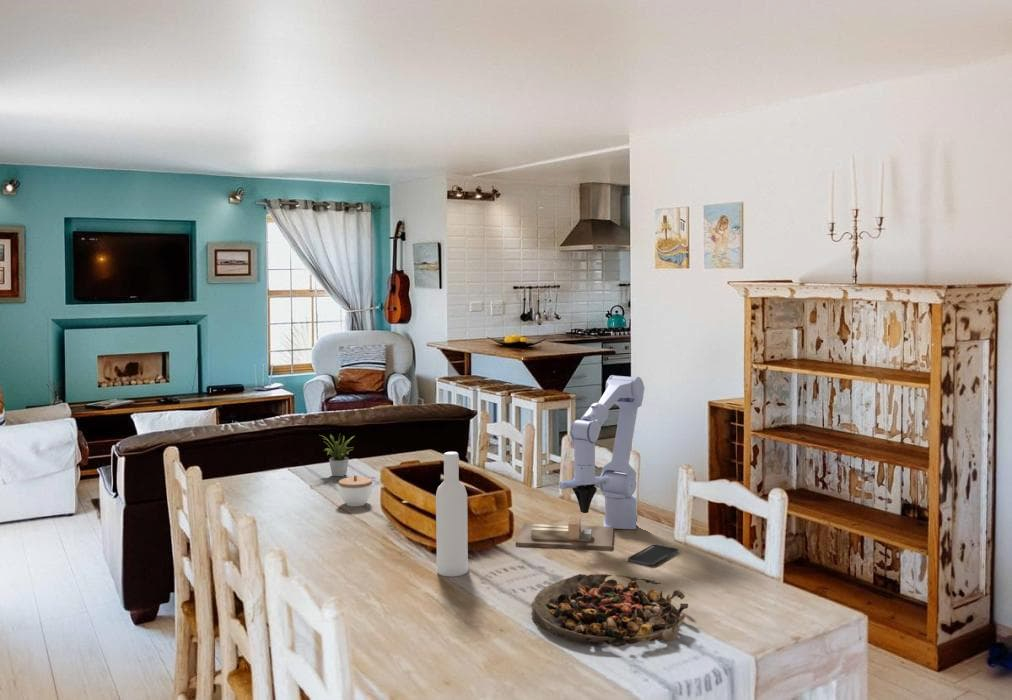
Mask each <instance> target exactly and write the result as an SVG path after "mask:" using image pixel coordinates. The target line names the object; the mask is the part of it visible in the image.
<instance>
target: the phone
mask: <svg viewBox="0 0 1012 700" xmlns="http://www.w3.org/2000/svg"><path fill="white" fill-rule="evenodd" d="M677 554H679V549H678V548H675V547H670V546H666V545H661V544H652V545H650V546H648V547H646V548H644V549H642V550H640V551H638V552H637V553H634V554H632V555H631V556H629V557H628V558H627V562H629V563H631V564H636V565H640V566H646V567H649V568H655V567H657V566H659V565H661V564H662V563H664V562H665V561H668V560H669V559H671V558H672V557H674V556H676V555H677ZM660 563H661V564H660Z"/></svg>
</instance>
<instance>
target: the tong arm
mask: <svg viewBox="0 0 1012 700" xmlns="http://www.w3.org/2000/svg"><path fill="white" fill-rule="evenodd" d="M532 524H533V528H559V529H568V526H561V525H562V524H550V525H544V523H532Z"/></svg>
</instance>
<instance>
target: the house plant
mask: <svg viewBox="0 0 1012 700" xmlns="http://www.w3.org/2000/svg"><path fill="white" fill-rule="evenodd" d="M340 435H341V434H339V436H338V437H339V438H338V439H337V440H336V441H335V437H334V436H333V435H332V434H331V433H330V435H329V438H330V439H331V441H330V440H329V439H328V438H327V437H325V436H324V435H322V437H323V438H324V443H325V444H326V445H327V446H328V447H329V448H328V447H327V448H325V449H324V450H322V451H323V452H327V453H326V456H328V455H331V457H330V458H329V460H328V461H329V466H330V471H331V475H332V476H331V477H333V476H343V477H345V476H344V475H346V476H347V473H348V472H347V471H348V467H349V466H348V465H349V457H347V456H346V455H349V454H350V453H349V452H350V451H352V449H354V446H352V447H348V446H347V445H348V444H349V443H350V441H351V440H352V439H354V437H355V435H353V436H351V437H350V438H349V439H347V440H346V441H345V436H342V437H343V438H342V437H340ZM319 436H321V435H320V434H319ZM341 439H342V440H341ZM325 440H326V441H327V442H328V443H327V442H326V441H325ZM340 442H341V444H340ZM329 444H330V445H329ZM333 450H334V451H333Z"/></svg>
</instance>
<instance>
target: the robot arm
mask: <svg viewBox="0 0 1012 700" xmlns="http://www.w3.org/2000/svg"><path fill="white" fill-rule="evenodd" d="M644 393H645V385H644V381H643V380H642V377H640V376H636V377H635V376H626V375H625V376H623V375H615V374H611V375H609V377H608V378H607V380H606V381H605V390H604V392H603V394H602V396H601V397H600V399H599V401H598V402H594V403H592V404H591V405H590V406H589V407H588V409H587V410H586V411H585V412H584V414H583V415H582V416H581V418H580V419H575V421H573V422H572V423H571V425H570V430H569V437H570V439H571V445H572V447H573V478H569V479H566V480H559V489H560V490H562V491H564V490H565V491H566V490H567V489H572V491H573V492H574V495H575V497H576V499H577V504H578V505H579V510H580V512H581V514H582V513H583V514H588V513H589V510H590V508H591V503H592V500H593V498H594V496H595V495H596V493H597V489H598V488H597V486H598V487H599V491H600V492H601V493H602V496H604V519H603V523H602V524H603V525H602V526H603V527H613V530H615V529H616V530H617V529H618V530H620V529H621V530H637V522H638V515H637V496H635V495H634V493H635V492H636V489H637V471H636V470H635V469H634V468H633V467H632V465H631V464H630V458H631V453H632V452H631V451H632V446H633V445H632V444H633V441H634V440H633V439H634V433H635V426H636V421H637V414H638V408H640V407H642V403H643V400H644ZM614 405H616V406H618V408H619V412H618V413H619V414H618V418H617V419H618V420H617V427H616V430H615V437H614V438H615V439H614V444H613V449H612V456H611V460H610V462H608V463H606V464H605V465H603V466H602V470H601V473H600V476H599V475H598V476H596V441H597V440H598V439H599V436H600V432H601V430H602V428H601V427H602V426H603V424H604V423H605V422H606V421H607V419H608V418H609V414H610V413H609V410H610V409H611V408H612V407H613V406H614Z"/></svg>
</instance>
